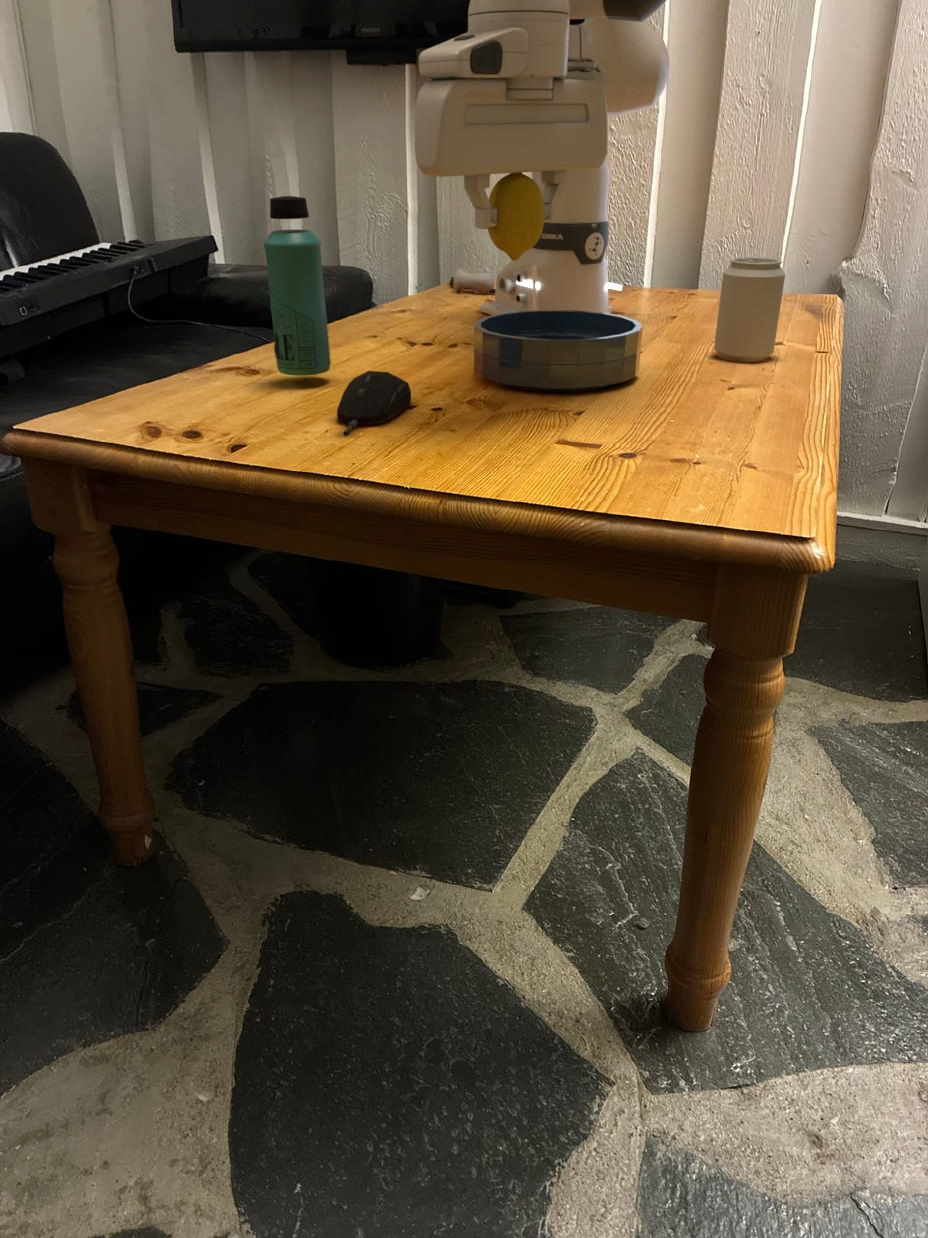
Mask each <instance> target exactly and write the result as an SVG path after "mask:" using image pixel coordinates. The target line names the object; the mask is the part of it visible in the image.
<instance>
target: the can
mask: <svg viewBox="0 0 928 1238" xmlns="http://www.w3.org/2000/svg"><path fill="white" fill-rule="evenodd" d="M729 263H730V265H729V266H728V267H726V269H725V270H724V271H722V280H721V287H720V294H719V295H720V296H719V302H718V303H719V304H718V312H717V313H718V314H717V319H716V320H717V321H716V330H715V335H714V336H715V338H714V346H713V350H714V351H715V352H716V353H717V355H718V356H719V358H721V359H723V360H726V361H731V362H737V363H739V362H740V363H755V362H756V363H758V362H762V361H765V360H767V358H769V357H770V356H771V355H773V354H774V352H775V346H776V339H777V333H778V326H779V319H780V314H781V313H780V312H781V306H782V299H783V292H784V286H785V279H786V272H785V271H784V269H783V267H781V264H783V261H782V260H781V259H778V258H772V257H762V256H761V257H760V256H759V257H758V256H756V257H755V256H746V257H745V256H744V257H743V256H742V257H733V258H731V259H730V260H729Z"/></svg>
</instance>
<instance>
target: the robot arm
mask: <svg viewBox="0 0 928 1238" xmlns="http://www.w3.org/2000/svg"><path fill="white" fill-rule="evenodd" d="M666 1H667V0H470V1H469V6H468V8H467V10H468V11H467V31H466V32H465V33H462V34H459V35H458V36H455V37H453V38H450V39H448V40H446V41H444V42H441V43H438V44H436V45H434V46H432V47H428V48H426V49H424V50H423V51H421V52H420V53H419V56H418V71H419V75H420V76H421V78H422V79H424V80H427V81H426V82H425V83H424V84H423V85H422V86H421V88H420V89H419V92H418V94H417V97H416V101H415V112H414V113H415V114H414V156H415V157H414V158H415V162H416V164H417V166H418V168H419V169H420V171H421V172H422V174H423V175H424V176H428V177H429V176H430V177H443V178H444V177H460V176H461V177H462V176H463V188H464V190H465V192H466V194H467V197H468V199H469V201H470V203H471V204H472V207H473V208H474V226H475V227H476V229H479V230H488V229H492V228H497V227H498V219H497V218H498V216H499V208H495V207H491V204H490V202H489V197H488V195H487V192H486V189H490V187H491V175H500V174H510V173H521V172H522V173H531V179H532V180H533V181H534V182H535V183H536V184H537V185H538V187H539V189H540V191H541V193H542V197H543V202H544V211H545V218H544V226H543V230H542V233H541V236H540V238H539V240H538V242H537V243H536V244H535V245H534V247H532V248H531V249H530V250H528V251H526V252H525V253H523V254H522V256H521V257H520V258H519V259H518V260H515V261H514V260H510V261H509V262H508V263H507V264H506V265H505V266H504V267H503V268H502V269H500V271H499V272H498V274H497V277H496V281H495V288H493V289H492V290H491V291H490V292H489V293H488V294H494V301H489V302H486V303H482V304H481V305H480V310H479V311H480V312H482V313H484V314H487V315H489V316H491V315H495V314H501V313H508V312H517V311H532V310H575V311H591V312H600V313H609V314H612V306H611V305H610V303H609V302H610V301H609V289H611V290H615V291H622V290H623V285H622V284H618V283H613V282H609V278H608V277H609V276H608V275H609V274H608V261H607V257H606V249H607V248H608V247H609V236H610V222H609V221H608V220H607V216H608V215H607V214H608V199H609V185H610V184H609V182H610V168H609V165H608V162H607V160H606V159H607V156H608V149H609V126H608V116H623V115H628V114H633V113H637V112H640V111H644V110H649V109H651V108H652V107H653V106H654V105H655V104H656V103H657V102H658V101H659V99H660V97H661V96H662V94H663V93H664V90H665V89H666V85H667V83H668V78H669V74H670V57H669V51H668V47H667V46H666V43H665V40H664V39H663V37H662V36H661V34H660V33H659V31H657V30H656V29H655V28H654V27H653V26H652V25H651V24H650V23H649V21H648V20H647V19H648V18H650V17H651V16H652V15H653V14H654V13H655V12H657V10H659V9H660V8H661V7H662V6H663V5H664V4H665V3H666ZM570 20H584V21H583V22H582V23H578V24H570ZM453 282H454V276H452V277H451V278H450V281H449V285H451V286H452V287H453ZM464 290H465V291H471V290H470V289H464Z"/></svg>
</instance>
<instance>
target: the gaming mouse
mask: <svg viewBox="0 0 928 1238" xmlns="http://www.w3.org/2000/svg"><path fill="white" fill-rule="evenodd" d="M411 401H412V390H411V387H410V384H409V382H407V381H406V380H404V379H402V378H400V377H398V376H396V375H394V374H392V373H390V372H389V371H379V370H378V371H376V370H367V371H365V372H364V373H361V374H360V375H357V376H355V377H354V378H353V379H352V380H350V382H349V383H348V384H347V386H346V387H345V389H344V391H343V393H342V396H341V398H340V400H339V404H338V406H337V409H336V417H337V420H338V421H340V422H342V423H348V425H347V427H346V429H345V430H343V435H344V436H347V435H348V434H349V433H350V432H351V430H354V429H355V428H356V427H357V426H358V425H377V424H382V423H386V422H388V421H389V420H391V419H392V418H394V417H395V416H396V415H398V414H399V413H400V412H401V411H404V410H405V409H406V408H407V407H408V406H409V405H411Z"/></svg>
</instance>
